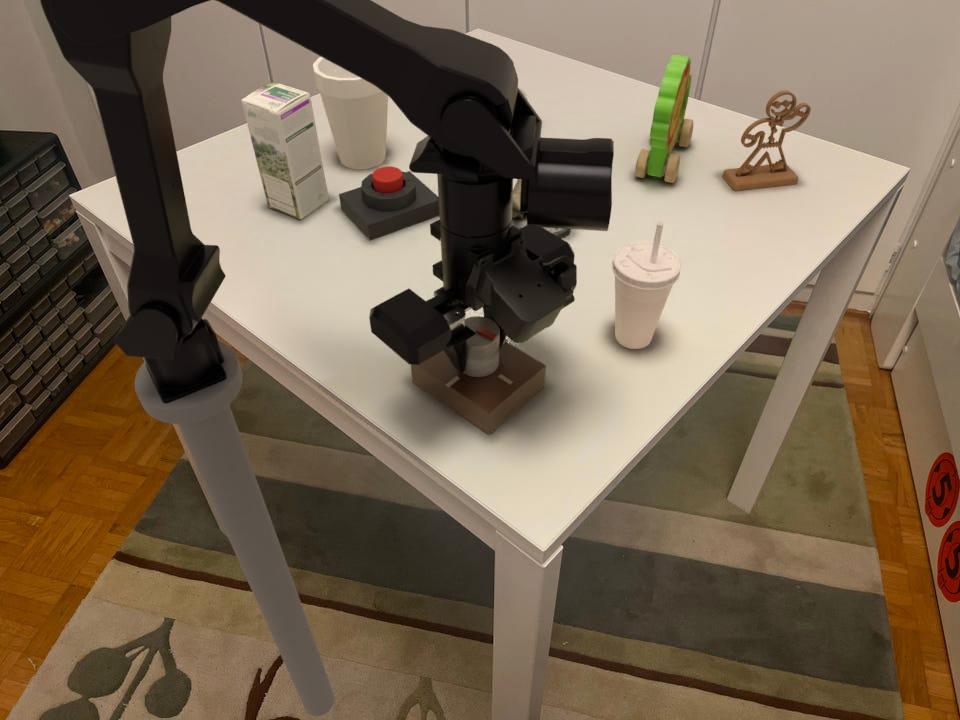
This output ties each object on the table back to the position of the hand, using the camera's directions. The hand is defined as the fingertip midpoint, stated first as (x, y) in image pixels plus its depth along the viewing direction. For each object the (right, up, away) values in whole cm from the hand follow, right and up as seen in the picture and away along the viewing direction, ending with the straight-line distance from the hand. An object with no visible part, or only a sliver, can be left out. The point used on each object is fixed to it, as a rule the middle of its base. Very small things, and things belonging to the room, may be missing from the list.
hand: (477, 358), depth 70 cm
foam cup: (-16, +28, +33) cm, 46 cm away
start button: (-11, +21, +21) cm, 32 cm away
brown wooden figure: (+37, +23, +29) cm, 52 cm away
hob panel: (0, -2, +2) cm, 4 cm away
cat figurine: (+7, +17, +23) cm, 29 cm away
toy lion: (+25, +26, +32) cm, 48 cm away
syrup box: (-23, +20, +25) cm, 39 cm away
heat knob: (0, 0, 0) cm, 0 cm away
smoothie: (+16, +2, +7) cm, 18 cm away
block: (-11, +18, +24) cm, 32 cm away
